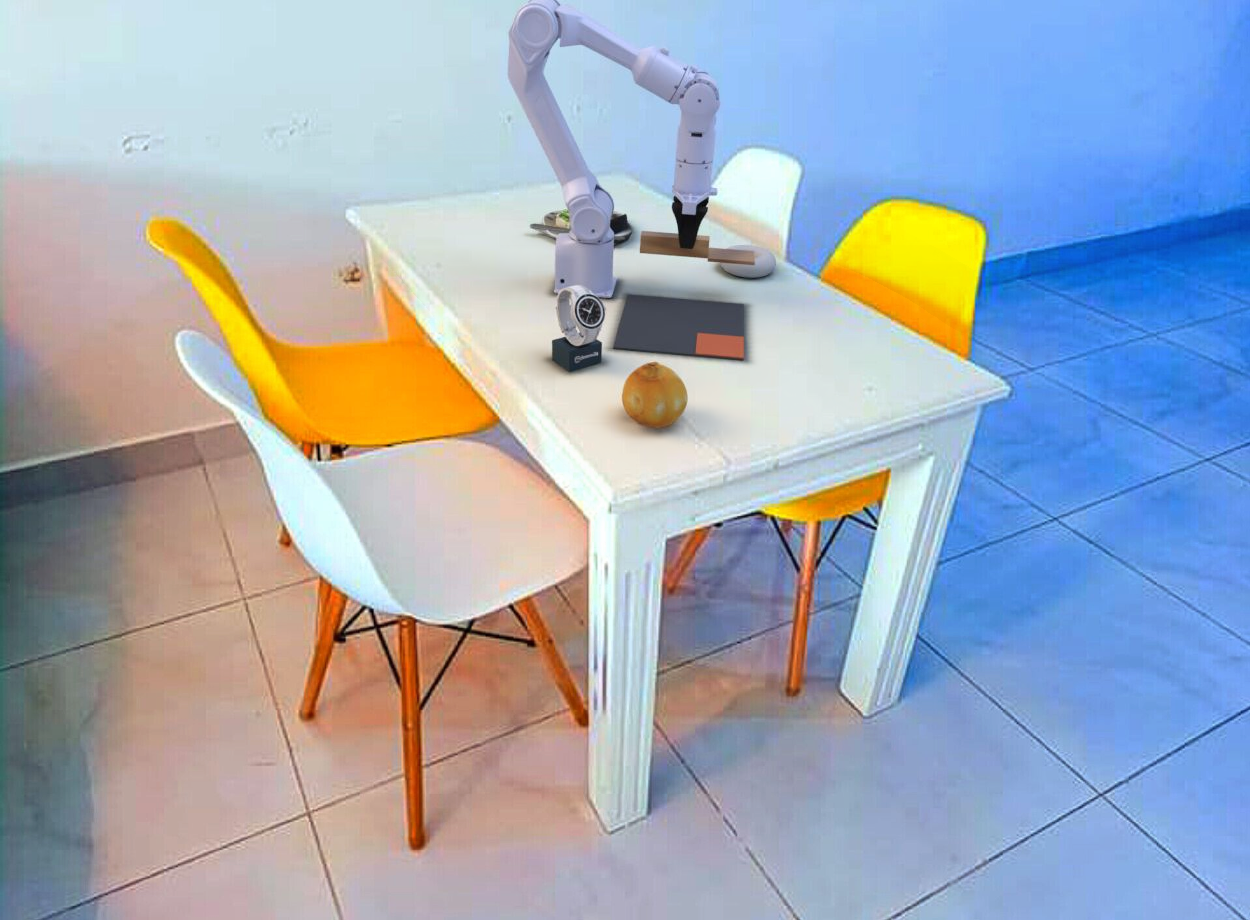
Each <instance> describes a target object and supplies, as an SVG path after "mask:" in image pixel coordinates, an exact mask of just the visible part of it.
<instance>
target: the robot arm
mask: <svg viewBox="0 0 1250 920" xmlns="http://www.w3.org/2000/svg"><path fill="white" fill-rule="evenodd" d="M507 32H508V33H507V34H508V35H507V36H508V54H507V71H506V72H507V73H506V74H507V78H508V81H509V83H510V85H511V87H512V89H513V92H514V94H515V96H516V97H517V99H518V101H519V103H520V106H521V107H522V109H523V111H524V114H525V115H526V118H527V120H528V121H529V124H530V126H531V128H532V130H533V131H534V133H535V136H536V138H537V140H538V142H539V144H540V147H541V148H542V150H543V152H544V155H545V156H546V158H547V161H548V162H549V164H550V166H551V168H552V170H553V172H554V175H555V176H556V178H557V180H558V183H559V184H560V186H561V190H562V195H563V200H564V205H565V206H566V210H568V211H569V215H570V227H571V229H570V232H569V233H560V234H558V236H557V239H555V248H554V249H555V250H554V290H553V292H554V294H558V293H559V291H560V290H561V289H563V288H566V287H570V286H575V285H582V286H584V287H586V288H587V289H588V290H591V291H592V293H593V294H594V295H595V296H597V297H598V298H605V299H606V298H607V299H608V298H609V299H610V298H612V297H613V294H614V292H615V288H616V285H617V282H618V278H617V277H614V275H613V274H614V273H613V272H614V249H615V248H614V247H615V244H614V232H613V231H612V230H611V228H610V219H611V216H612V214H613V211H615V201H614V199H613V197H612V195H611V193H609V191H607V190H606V189H605V188H603V186H602V185H601V184H600V183H599V180H598V179H597V176H595V174H594V173H592V172H591V170H590V169H589V167H588V165H587V163H586V160H585V158H584V156H583V154H582V152H581V149H580V148H579V146H578V144H577V142H576V139H575V137H574V135H573V133H572V131H571V129H570V127H569V125H568V122H567V121H566V118H565V117H564V114H563V111H562V110H561V108H560V105H559V104H558V102H557V99H556V98H555V94H554V93H553V91H552V89H551V87H550V84H549V83H548V81H547V78H546V76H545V74H544V71H545V68H546V64H547V62H548V59H549V57H550V53H551V50H552V48H553V46H554V45H555V44H556V43H557V41H558V40H559V39H560V41H559V47H560V48H565V47H573V46H584V47H585V48H586V49H589V50H591V51H593V52H595V53H596V54H598V55H600V56H603V57H604V58H606V59H608V60H611V61H612V62H614V63H616V64H618V65H620V66H622V67H624V68H626V69H628V70H629V71H630V72H631V74H632V78H633V83H634V84H636V85H637V86H639V87H641V88H643V89H645V90H646V91H648V92H649V93H651V94H653V95H654V96H657V97H658V98H660V99H662V100H664V101H666V102H667V103H669V104H671V105H678V106H679V109H680V123H679V125H678V127H677V135H676V136H677V137H676V149H675V163H674V175H673V185H672V187H671V192H672V194H673V199H672V200H673V201H672V202H671V211H672V214H673V215H674V218H675V222H676V227H677V234H678V237H679V244H680V248H686V249H693V247H694V245H695V241H696V238H697V235H699V234H698V233H699V230H700V226H701V224H702V222H703V220H704V218H705V217H706V215H707V213H708V212H709V207H708V204H709V202H710V197H711V196H712V197H713V196H714V197H715V196H718V188H717V187H712V186H711V185H712V176H713V175H712V174H713V166H714V165H713V164H714V154H715V144H716V143H715V142H716V134H717V133H716V132H717V129H716V127H715V125H716V124H717V113H718V111H719V109H720V106H721V101H720V92H719V91H720V90H719V86H718V83H717V81H716V80H715V78H713V76H711V75H710V73H708V72H707V71H705V70H699V67H698V66H697V65H695V64H691V66H689V65H687V63H685V62H682V61H681V60H679V59H678V58H676V57H674V56H673V55H671V54H670V52H671V51H670V48H668V47H666V46H664V45H661V47H660V48H659V47H657V46H655V45H650V46H648V47H645V48H644V47H643V48H640V47H639V46H638V45H635V44H634V43H632V42H630V41H629V40H627V39H626V38H625V37H623V36H622V35H620V34H618V33H617V32H615V31H614V30H612V29H610V28H609V27H607V26H605V25H603V24H602V23H601V22H600V21H597V20H596V19H594V18H593V17H591V16H590V15H588V14H587V13H585V12H583V11H581V10H580V9H577V8H576V7H574V6H572V5H570V4H567V3H564V2H562V3H561V2H559V0H529V1H527V3H525V4H524V5H522V6H521V7H520V8H519V9H518V10H517V12H516V13H515V15H514V17H513V20H512V22H511V25H510V27H509V29H508V31H507ZM571 294H572V293H571ZM571 294H570V295H571Z"/></svg>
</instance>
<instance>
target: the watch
mask: <svg viewBox="0 0 1250 920" xmlns="http://www.w3.org/2000/svg"><path fill="white" fill-rule="evenodd" d="M571 293H572V294H571ZM570 294H571V295H570ZM555 302H556V306H555V312H556V317H557V321H558V326H559V328H560V331H561V333H562V334H563V335H564V336H562V337H559V338H555V339H552V340H551V360H552V362H554V363H555V364H557V365H558V366H559V367H561V368H562V369H564V370H565V371H567V372H568V373H571V372H574V371H578V370H581V369H585V368H588V367H592V366H595V365H597V364H602V361H603V360H602V359H603V357H602V355H603V342H602V341H601V340H600V339H598V337H599V335H600V332H601V331H602V328H603V324H604V322H605V319H606V310H607V309H606V308H607V307H606V305H604V303H603V301H602V299H600V297H597V296H595V295H594V294H593V293H592V291H591V290H588V289H587V288H586V287H584V286H582V285H575V286H570V287H566V288H563V289H561V290H560V291H559V293H557V294H556V301H555ZM577 329H578V330H577Z"/></svg>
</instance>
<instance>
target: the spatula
mask: <svg viewBox="0 0 1250 920" xmlns="http://www.w3.org/2000/svg"><path fill="white" fill-rule="evenodd" d="M710 239H711V236H710V235H700V234H697V238H696V241H695V245H694V247H693V249H686V248H680V244H679V237H678V232H677V233H676V232H663V231H649V230H641V231H640V242H639V254H645V255H646V254H647V255H657V256H658V255H661V256H670V257H671V256H672V257H682V258H683V257H685V258H694V259H695V258H697V259H707V262H708V263H719V264H720V263H732V264H744V265H755V252H754V251H747V250H734V249H727V248H722V247H709V246H710Z"/></svg>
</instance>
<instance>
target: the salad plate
mask: <svg viewBox="0 0 1250 920" xmlns="http://www.w3.org/2000/svg"><path fill="white" fill-rule="evenodd" d="M629 222H630V221H629V220H628V215H627V213H621V212H619V211H617V210H614V211H613V214H612V216H611V219H610V228H611V230H612V231H613V232H614V245H619V244H622V243H625V242H627V241H628V240H629V239H630V237H631V235H632V234H633V227H632V225H631V224H630V223H629ZM529 228H530V229H532V230H535V231H539V232H541V233H543V234H545V235H547V236H548V237H550V238H553V239H555V240H557V236H558V234H560V233H569V232H570V229H571V227H570V215H569V211H568V209H567V208H566V209H563V210H554V211H550V212H548V213H546V214H545V215H544V216H543V217H542V224H541V223H530V224H529Z"/></svg>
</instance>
